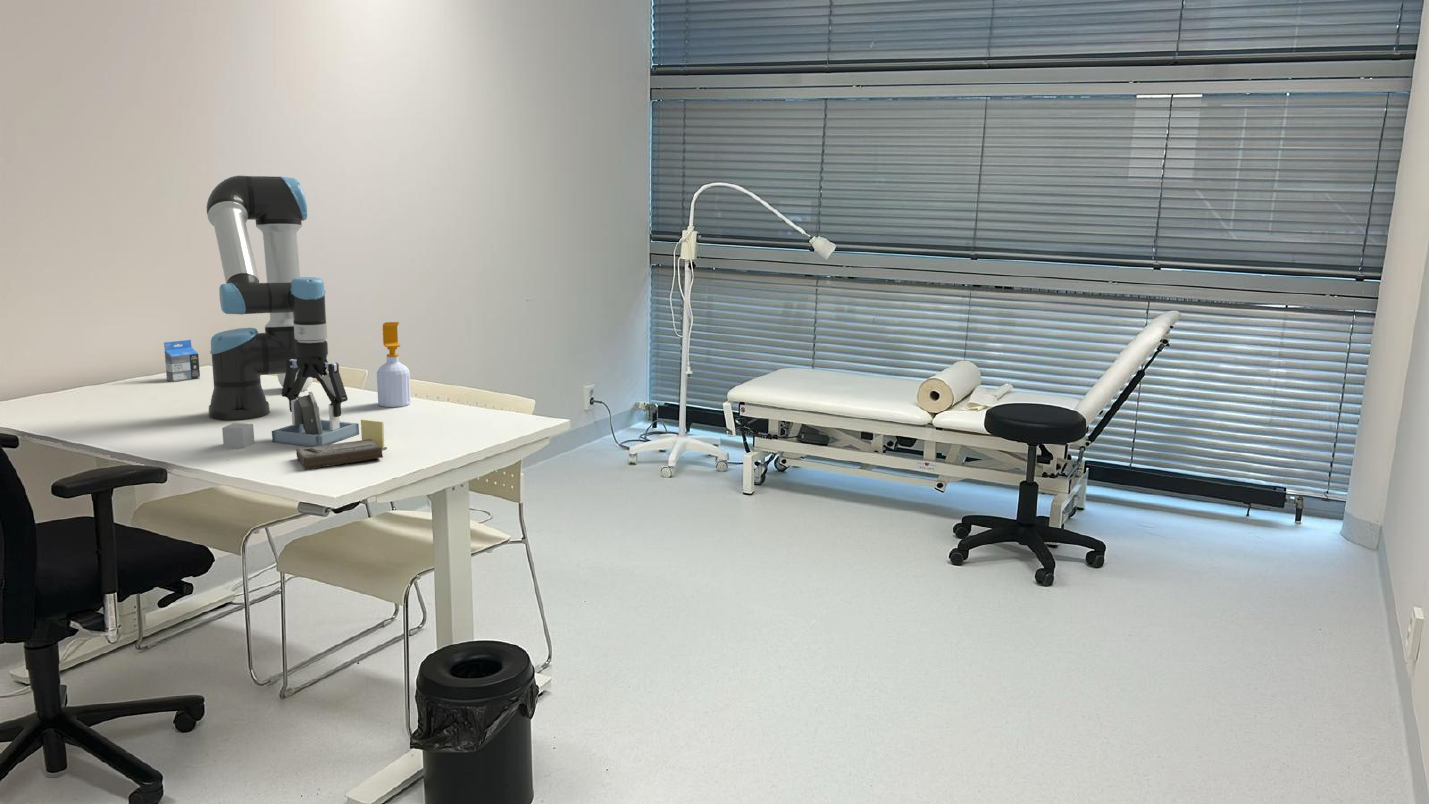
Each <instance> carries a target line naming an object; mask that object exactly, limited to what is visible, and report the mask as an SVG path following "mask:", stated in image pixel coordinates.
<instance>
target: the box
mask: <svg viewBox="0 0 1429 804" xmlns="http://www.w3.org/2000/svg"><path fill="white" fill-rule="evenodd" d="M295 451H296V452H295V453H296V458H297V461H298V462H299V463H300V464H301V466H302V467H303V468H304V470H305V471H306V470H307V471H308V470H312V469H313V470H314V469H320V468H326V467H333V466H337V465H338V466H339V465H343V464H348V463H349V464H351V463H355V462H364V461H368V460H375V459H381V458H382V459H383V458H384V456H383V450H382V449H381V447H379V446H378V445H377V444H376V443H375V442H373V441H372V440H371V439H367V440H362V439H360V440H354V441H347V442H340V443H339V442H337V443H332V444H329V445H323V446H315V447H309V446H307V447H302V448H297V449H295Z"/></svg>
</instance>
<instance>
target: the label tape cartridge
mask: <svg viewBox="0 0 1429 804" xmlns="http://www.w3.org/2000/svg"><path fill="white" fill-rule="evenodd" d="M177 345H179V346H177ZM180 345H181V346H180ZM163 347H164V361H165V374H166V375H165V376H166V381H168V382H171V383H176V382H181V381H182V382H183V381H190V380H197V379H201V374H200V373H201V372H200V359H199V353H198V352H197V351H196V350H195V349H194V348H193V345H192V340H191V339H186V340H176V341H168V342H167V341H165V342H163Z"/></svg>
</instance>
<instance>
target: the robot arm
mask: <svg viewBox="0 0 1429 804" xmlns="http://www.w3.org/2000/svg"><path fill="white" fill-rule="evenodd" d="M307 205H308V204H307V200H306V196H305V192H304V189H303V187H302V185H301V182H299V180H298V179H296V178H293V177H287V176H286V177H285V176H262V175H261V176H260V175H257V176H255V175H235V176H234V175H233V176H230V177H228V178H226V179H224V180H223V181H221V182H219V183H218V184H217V185H216V186H215V187H214V188H213V189H212V191H211V193H210V195H209V196H208V199H207V202H206V213H207V214H206V215H207V219H208V222H209V223H210V225H212V227H214V233H215V237H216V241H217V247H218V251H219V256H220V262H221V265H222V269H223V275H224V276H223V277H224V280H225V283H222V284H220V286H219V289H218V290H219V291H218V293H219V302H220V309H221V311H222V313H223V314H226V315H250V314H251V315H253V314H255V315H256V314H269V320H268V322H267V323H266V324H265V325H264V332H259V331H258V329H257V328H255V327H241V328H234V329H228V330H223V331H221V332H217V333H215V334H214V335H213V336H212V337H211V338H210V351H209V352H210V353H209V354H210V355H211V362H212V363H211V364H212V365H211V366H212V379H213V390H212V395H211V398H210V403H209V405H208V416H209V417H210V418H211V419H215V420H226V421H229V420H230V421H231V420H233V421H234V420H235V421H237V420H248V419H254V418H259V417H263V416H267V415H268V414H270V412H271V411H270V403H269V401H268V400H267V397H266V395H265V392H264V389H263V386H262V382H261V381H262V380H261V379H262V378H261V376H266V375H267V376H268V375H277V374H286V375H285V379H284V384H283V387H282V389H281V393H280V394H281V397H283V398H286V399H287V400H288V407H289V412H290V413H291V419H292V423H291V425H293V426H297V425H300V424H302V409H301V406H300V403H299V401H298V398H297V397H301V396H299V395H300V394H301V392H302V391H301V390H302V388H303V386H304V384H305V382H306V380H307V378H308V377H312V378H313V379H316V381H317V382H318V383H319V384H320V385H321V387H322V389H323V390H324V393H325V395H326V396H327V397H328V399H329V401H330V403H329V404H328V417H329V419H328V420H330V430H335V429H338V428H340V424H339V421H340V417H341V415H342V408H341V407H342V403H344V402H347V401H348V395H347V393H346V389H345V385H344V382H343V380H342V377H341V374H340V365H339V363H338V362H329V361H328V359H327V357H328V354H329V347H328V341H327V340H326V339H328V329H327V315H326V314H327V313H326V290H325V282H324V280H323V279H322V278H321V277H316V276H315V277H314V276H303V277H302V276H301V272H300V260H299V259H300V258H299V247H298V236H297V235H298V234H297V233H298V231H300V229H301V228H302V227H303V225H302V223H303V222H302V221H306V220H307V219H308V206H307ZM248 220H255V227H256V228H257V229H258V230H259V231H260V232H261V233H262V239H263V240H262V241H263V250H264V251H263V252H264V261H265V263H264V264H265V273H266V274H265V276H266V282H260V279H259V275H258V270H257V266H256V261H255V258H254V253H253V249H252V248H253V247H252V245H251V240H250V236H249V232H248V227H247V221H248ZM296 373H298V374H297V376H296ZM296 377H297V378H296ZM295 378H296V380H295Z"/></svg>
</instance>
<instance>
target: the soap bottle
mask: <svg viewBox="0 0 1429 804" xmlns="http://www.w3.org/2000/svg"><path fill="white" fill-rule="evenodd" d="M399 324H400V322H399V321H389V322H383V324H382V341H383V342H382V344H383V346H384V347H385V348H387V350H389V353H388V354H386V362H385V363H384V364H382V365H381V366H380V367H378V369H377V371H376V381H377V383H376V385H377V401H378V402H377V403H378V406H380V407H383V408H399V407H400V408H401V407H407V406H409V405H410V404H411V402H412V401H411V376H410V375H411V373H410V369H409V368H408V367H407V366H406V365H404V364H403V363H402V362H400V360H399V359H400V358H399V354H398V353H396V350H398V348H400V347H401V344H400V343H399V339H398V338H399V337H398V336H399V335H398V326H399Z"/></svg>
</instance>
